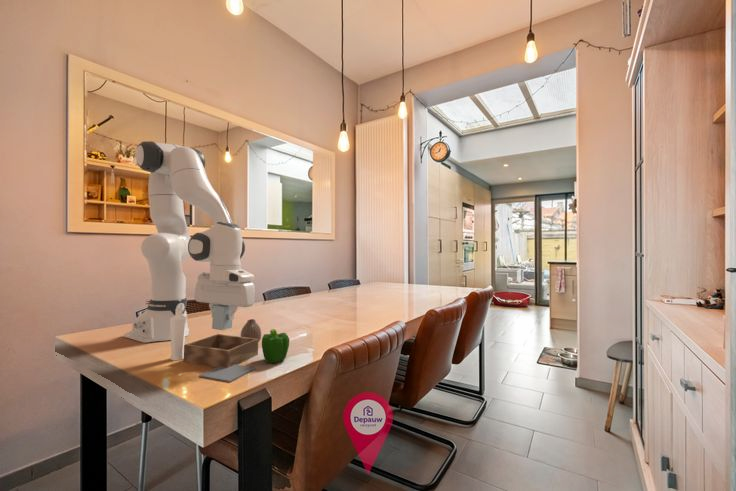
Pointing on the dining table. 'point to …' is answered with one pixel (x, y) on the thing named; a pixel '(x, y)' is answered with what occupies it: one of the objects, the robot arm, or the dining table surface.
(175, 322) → the perfume bottle
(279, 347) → the bell pepper
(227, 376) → the pad
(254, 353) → the walnut crate
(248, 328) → the vase
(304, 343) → the dining table surface
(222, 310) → the block
